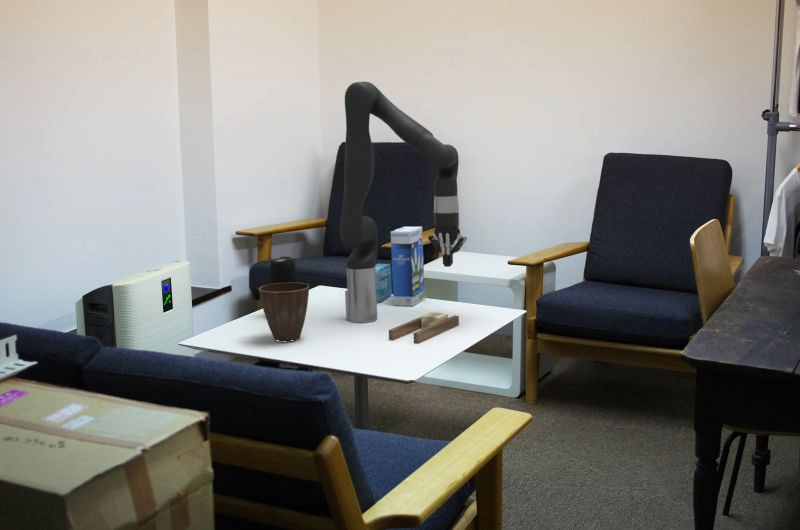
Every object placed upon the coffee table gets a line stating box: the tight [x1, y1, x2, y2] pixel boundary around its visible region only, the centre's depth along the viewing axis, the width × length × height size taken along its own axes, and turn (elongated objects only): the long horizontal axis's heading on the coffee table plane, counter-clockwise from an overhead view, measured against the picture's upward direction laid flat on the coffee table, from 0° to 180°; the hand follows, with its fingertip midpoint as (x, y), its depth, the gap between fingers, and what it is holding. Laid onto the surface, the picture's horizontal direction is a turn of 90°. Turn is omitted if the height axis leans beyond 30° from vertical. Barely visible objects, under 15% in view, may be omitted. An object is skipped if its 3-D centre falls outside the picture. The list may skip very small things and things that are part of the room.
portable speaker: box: [268, 255, 299, 285], centre depth 306 cm, size 9×9×20 cm
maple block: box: [420, 311, 449, 330], centre depth 282 cm, size 6×6×4 cm
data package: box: [375, 263, 393, 303], centre depth 328 cm, size 12×4×12 cm, turn 159°
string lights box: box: [390, 226, 426, 307], centre depth 320 cm, size 13×8×26 cm, turn 160°
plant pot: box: [258, 282, 310, 342], centre depth 276 cm, size 15×15×16 cm
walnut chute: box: [388, 314, 460, 345], centre depth 277 cm, size 10×24×4 cm, turn 148°
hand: (448, 266), depth 287 cm, fingers closed
